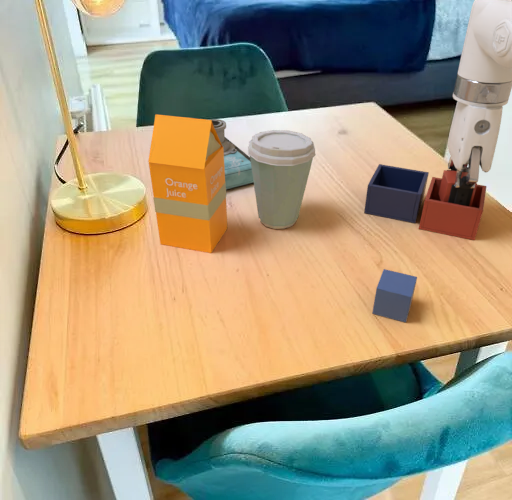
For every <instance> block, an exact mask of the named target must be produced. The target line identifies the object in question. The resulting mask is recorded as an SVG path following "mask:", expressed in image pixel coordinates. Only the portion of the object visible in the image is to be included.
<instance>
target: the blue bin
mask: <svg viewBox="0 0 512 500" xmlns="http://www.w3.org/2000/svg"><path fill="white" fill-rule="evenodd" d="M428 178H429V171H423V170H418V169H411V168H405V167H399V166H393V165H387V164H382V163H380V164H378V165H377V167H376V168H375V171H374V173H373V174H372V176H371V178H370V180H369V182H368V184H367V189H366V195H365V205H364V212H363V214H366V215H372V216H377V217H381V218H385V219H386V218H387V219H391V220H395V221H401V222H406V223H411V224H416V223H417V219H418V216H419V214H420V211H421V209H422V208H421V207H422V205H423V203H424V199H425V193H426V188H427V184H428Z"/></svg>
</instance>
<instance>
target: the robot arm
mask: <svg viewBox="0 0 512 500" xmlns="http://www.w3.org/2000/svg"><path fill="white" fill-rule="evenodd" d="M511 92H512V0H473V3H472V5H471V9H470V14H469V18H468V22H467V28H466V33H465V37H464V41H463V46H462V49H461V54H460V60H459V65H458V69H457V74H456V78H455V83H454V87H453V92H452V99H453V100H455V101H456V105H455V109H454V113H453V115H452V121H451V126H450V130H449V134H448V139H447V140H448V141H447V149H448V152H449V156H450V157H449V160H448V163H447V170H449V171H457V173H456V179H455V185H452V187H451V191H450V195H449V200H448V203H453V204H458V205H464V206H469V205H470V201H471V197H472V194H473V190H474V188H475V183H477V184H478V182H479V178H480V177H479V176H480V169H481V171H482V172H483V173H488V172H490V170H491V169H492V164H493V161H494V157H495V152H496V147H497V144H498V139H499V134H500V130H501V129H500V128H501V123H502V117H503V108H504V107H503V106H506V105H507V104H508V103H509V100H510V95H511ZM462 172H467V173H468V174H467V175H466V176H463V177H462V178H461V176H462Z"/></svg>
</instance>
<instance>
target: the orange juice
mask: <svg viewBox="0 0 512 500" xmlns="http://www.w3.org/2000/svg"><path fill="white" fill-rule="evenodd" d="M147 162H148V167H149V175H150V183H151V188H152V196H153V197H152V198H153V204H154V211H155V216H156V223H157V231H158V236H159V243H160V245H162V246H167V247H174V248H180V249H185V250H192V251H197V252H202V253H209V254H212V253H213V251H214V250H215V248H216V247H217V245H218V244H219V242H220V241H221V239H222V238H223V236H224V235H225V233H226V231H227V230H228V228H229V227H228V211H227V210H228V209H227V189H226V182H225V169H224V149H223V147H222V144H221V142H220V140H219V137H218V135H217V133H216V130H215V128H214V126H213V124H212V120H210V119H205V118H204V119H203V118H194V117H185V116H177V115H176V116H175V115H167V114H166V115H165V114H157V113H155V115H154V122H153V128H152V136H151V142H150V147H149V155H148V161H147Z"/></svg>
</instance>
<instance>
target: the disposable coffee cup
mask: <svg viewBox="0 0 512 500" xmlns="http://www.w3.org/2000/svg"><path fill="white" fill-rule="evenodd" d="M247 155H248V156H249V157H250V160H251V167H252V174H253V181H254V182H253V188H254V194H255V201H256V209H257V214H258V217H257V218H258V219H259V221H260V223H261V224H262V225H263V226H265V227H267V228H270V229H273V230H285V229H287V228H291V227H293V225H295V224H296V222H297V220H298V218H299V216H300V212H301V207H302V204H303V200H304V195H305V191H306V188H307V184H308V180H309V175H310V171H311V168H312V163H313V160H314V157H315V156H316V147H315V144H314V141H313V140H312V138H311V137H309V136H307V135H306V134H303V133H302V132H298V131H294V130H287V129H284V130H283V129H270V130H266V131H260V132H258V133H256V134H254V135H252V137H251V139H250V140H249V141H248V146H247Z"/></svg>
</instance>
